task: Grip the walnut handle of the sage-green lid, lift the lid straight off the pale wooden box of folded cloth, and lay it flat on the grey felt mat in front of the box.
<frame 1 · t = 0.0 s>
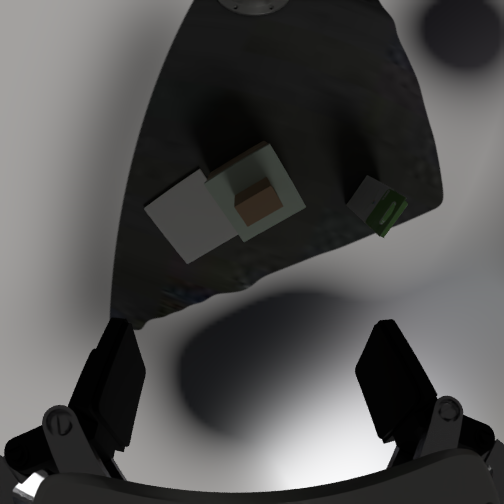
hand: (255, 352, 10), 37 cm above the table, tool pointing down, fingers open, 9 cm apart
keepsake box: (252, 181, 44), on the table
lid: (255, 192, 38), point 7 cm above the table, touching keepsake box
ink box: (363, 195, 46), on the table
felt mat: (192, 218, 46), on the table
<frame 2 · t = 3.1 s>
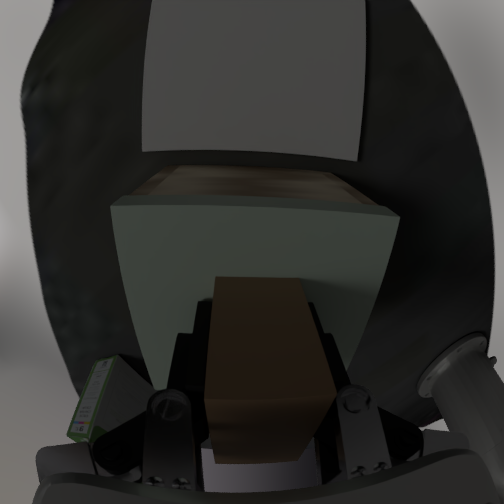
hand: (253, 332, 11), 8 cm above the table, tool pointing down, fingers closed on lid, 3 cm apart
keepsake box: (246, 241, 18), on the table
lid: (252, 310, 12), point 7 cm above the table, touching gripper, keepsake box
ink box: (127, 374, 25), on the table
felt mat: (257, 54, 13), on the table
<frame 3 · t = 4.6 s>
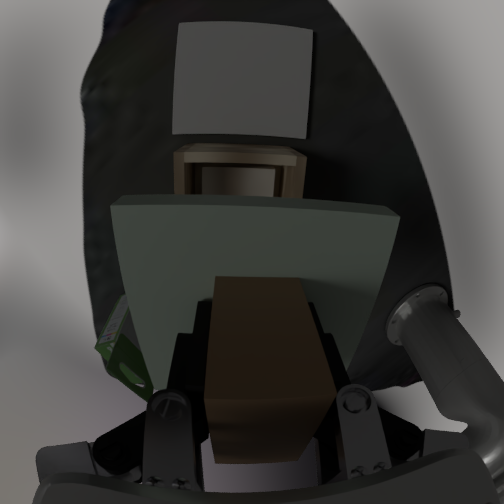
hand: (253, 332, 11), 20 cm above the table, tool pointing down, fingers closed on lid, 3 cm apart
keepsake box: (236, 191, 28), on the table
lid: (252, 309, 12), point 18 cm above the table, touching gripper
ink box: (144, 308, 34), on the table
felt mat: (242, 76, 22), on the table
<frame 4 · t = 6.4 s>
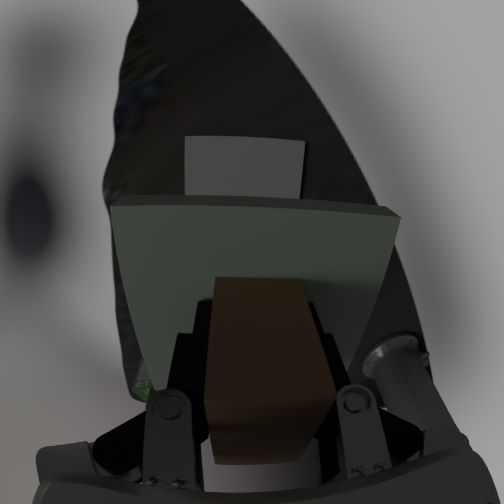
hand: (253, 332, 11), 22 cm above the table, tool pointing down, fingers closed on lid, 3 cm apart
lid: (252, 310, 12), point 21 cm above the table, touching gripper
ink box: (166, 353, 43), on the table
felt mat: (242, 188, 31), on the table
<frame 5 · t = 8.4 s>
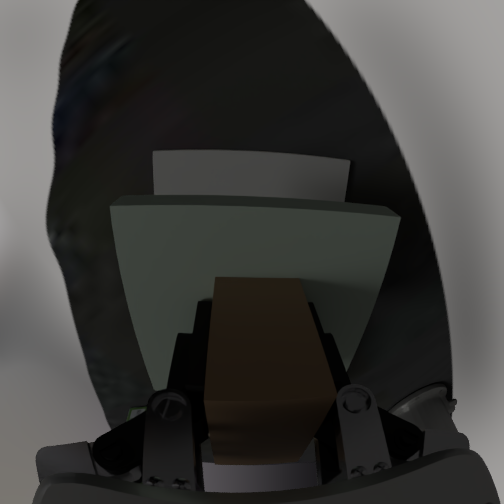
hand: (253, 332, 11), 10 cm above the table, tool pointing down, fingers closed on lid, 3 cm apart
lid: (252, 310, 12), point 9 cm above the table, touching gripper
felt mat: (248, 235, 20), on the table
when the fingers open (5 cm above the table, at t = 9.8 s): lid drops 2 cm, resting on felt mat.
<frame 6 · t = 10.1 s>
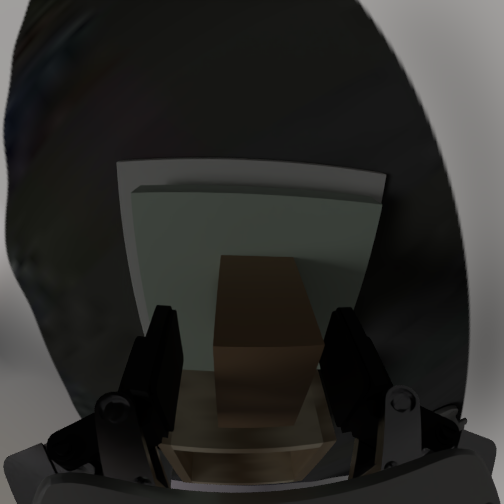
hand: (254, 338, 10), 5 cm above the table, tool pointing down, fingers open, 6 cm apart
keepsake box: (241, 395, 20), on the table
lid: (252, 289, 14), point 1 cm above the table, touching felt mat
felt mat: (248, 272, 15), on the table
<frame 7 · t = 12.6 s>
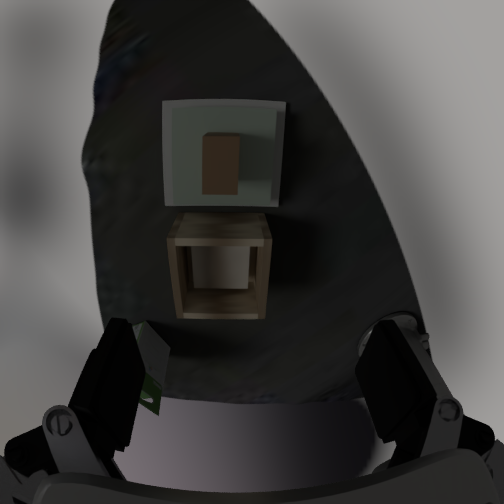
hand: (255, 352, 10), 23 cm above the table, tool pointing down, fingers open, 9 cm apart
keepsake box: (221, 250, 34), on the table
lid: (222, 155, 27), point 1 cm above the table, touching felt mat
ink box: (149, 336, 41), on the table
felt mat: (222, 152, 28), on the table
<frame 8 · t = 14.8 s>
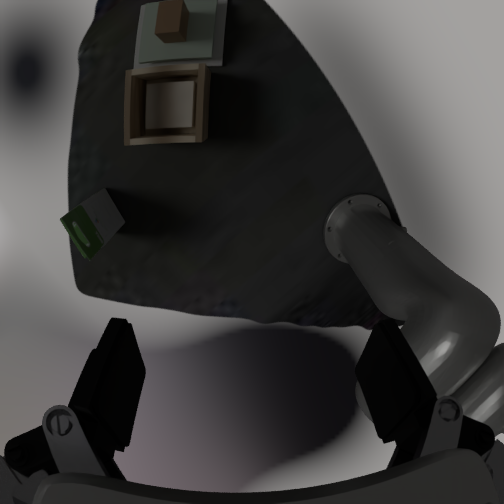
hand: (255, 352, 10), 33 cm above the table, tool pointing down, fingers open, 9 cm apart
keepsake box: (174, 105, 34), on the table
lid: (178, 29, 27), point 1 cm above the table, touching felt mat
ink box: (107, 209, 41), on the table
felt mat: (179, 32, 28), on the table
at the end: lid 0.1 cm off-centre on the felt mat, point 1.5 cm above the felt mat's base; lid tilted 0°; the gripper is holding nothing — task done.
